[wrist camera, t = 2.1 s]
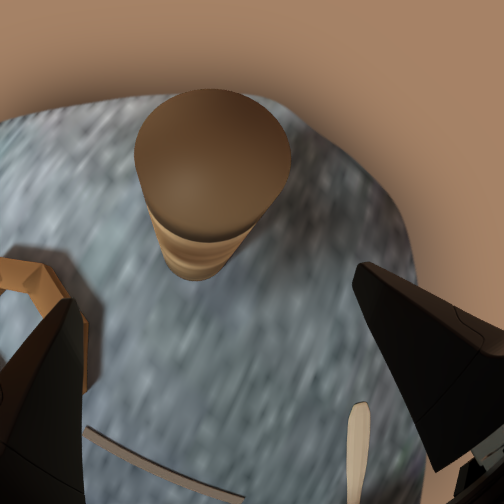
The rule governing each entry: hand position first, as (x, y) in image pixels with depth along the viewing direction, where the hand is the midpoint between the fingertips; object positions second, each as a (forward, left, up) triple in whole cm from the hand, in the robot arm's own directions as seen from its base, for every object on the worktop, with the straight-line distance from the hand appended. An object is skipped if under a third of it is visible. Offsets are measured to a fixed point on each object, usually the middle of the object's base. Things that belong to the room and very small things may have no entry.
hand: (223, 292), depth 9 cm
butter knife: (-24, +5, -11) cm, 27 cm away
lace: (-7, +10, -11) cm, 16 cm away
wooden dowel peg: (+3, -2, -10) cm, 11 cm away
